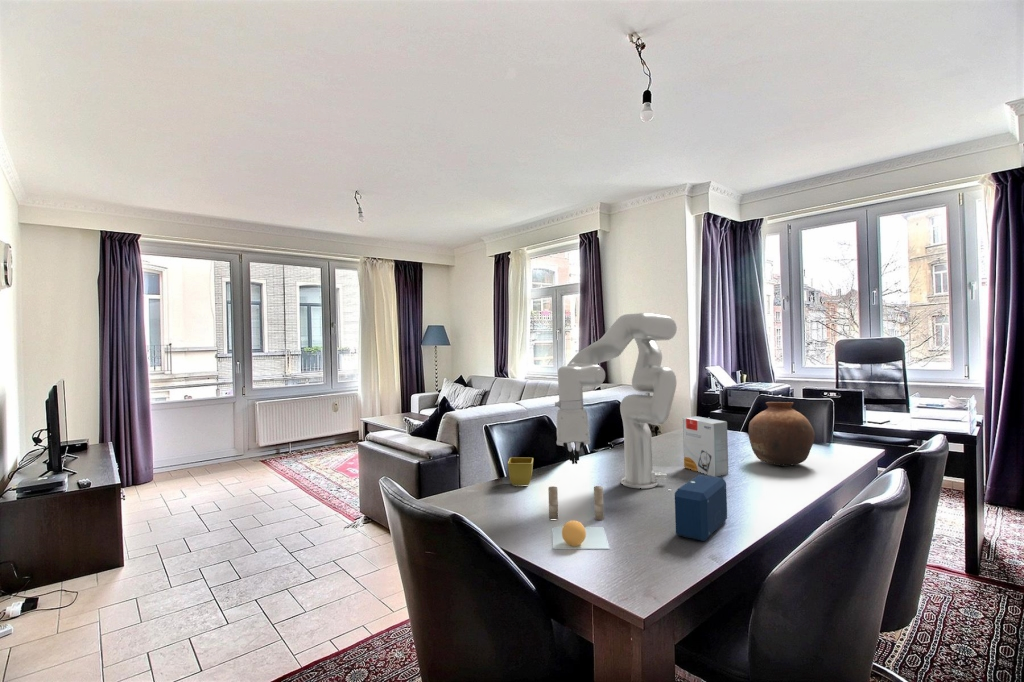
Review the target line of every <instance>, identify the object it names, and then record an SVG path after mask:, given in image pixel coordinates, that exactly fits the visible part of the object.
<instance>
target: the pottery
mask: <svg viewBox="0 0 1024 682" xmlns="http://www.w3.org/2000/svg"><path fill="white" fill-rule="evenodd" d="M765 404H766V406H767V408H766V409H764V410H762V411H760V412H759V413H758V414H756V415H755V416H754V417H753V418H752V419H751V420H750V421H749V424H748V439H749V442H750V446H751V450H752V452H753V453H754V455H755V457H756V458H757V459H758V460H760V461H762V462H764V463H766V464H770V465H775V466H783V467H784V466H795V465H800V464H801V463H804V462H805V461H806V460H807V458H808V457H809V455H810V453H811V452H810V451H811V450H812V447H813V445H814V442H815V437H816V434H815V430H814V428H813V426H812V424H811V422H810V420H809V419H808V418H807V417H806V416H805V415H803V414H802V413H801V412H799V411H797V410H796V409H794V408H792V406H793V405H794V402H793V401H792V402H791V401H790V402H789V401H787V402H785V401H783V402H782V401H767V402H765Z"/></svg>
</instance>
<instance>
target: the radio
mask: <svg viewBox="0 0 1024 682" xmlns="http://www.w3.org/2000/svg"><path fill="white" fill-rule="evenodd" d="M706 460H707V451H706ZM727 497H728V495H727V482H726V480H725V479H724V478H723V477H720V476H717V477H713V476H710V475H708V469H707V475H706V474H697V476H695V477H694V478H691V479H690V480H689V481H688V482H686V483H685V484H683V485H682V486H680V487H679V488H677V489H676V490H675V492H674V512H675V513H674V515H675V517H674V518H675V519H674V520H675V521H674V522H675V535H678V536H679V537H683V538H688V539H692V540H697V541H700V542H706V540H708V539H709V538H710V537H711V536H712V535H713V534H712V533H713V532H714V531H715V530H716V531H717V529H718V528H720V527H721V526H722V524H723V523H725V522H726V520H727V519H728V504H727V503H728V501H727V500H728V499H727ZM716 531H715V532H716ZM715 532H714V533H715ZM711 534H712V535H711Z"/></svg>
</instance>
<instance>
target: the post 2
mask: <svg viewBox="0 0 1024 682" xmlns="http://www.w3.org/2000/svg"><path fill="white" fill-rule="evenodd" d="M593 500H594V501H593V502H594V503H593V504H594V507H593V508H594V509H593V510H594V520H596V521H603V520H604V519H605V516H604V515H605V514H604V512H605V509H604V487H603V486H601V485H600V486H599V485H596V486H593Z"/></svg>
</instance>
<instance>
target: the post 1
mask: <svg viewBox="0 0 1024 682" xmlns="http://www.w3.org/2000/svg"><path fill="white" fill-rule="evenodd" d="M547 490H548V517H549V518H550V519H559V504H558V503H559V499H558V498H559V497H558V487H557V486H555V485H554V486H552V485H551V486H548V489H547ZM549 518H548V519H549ZM550 519H549V520H550Z"/></svg>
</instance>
